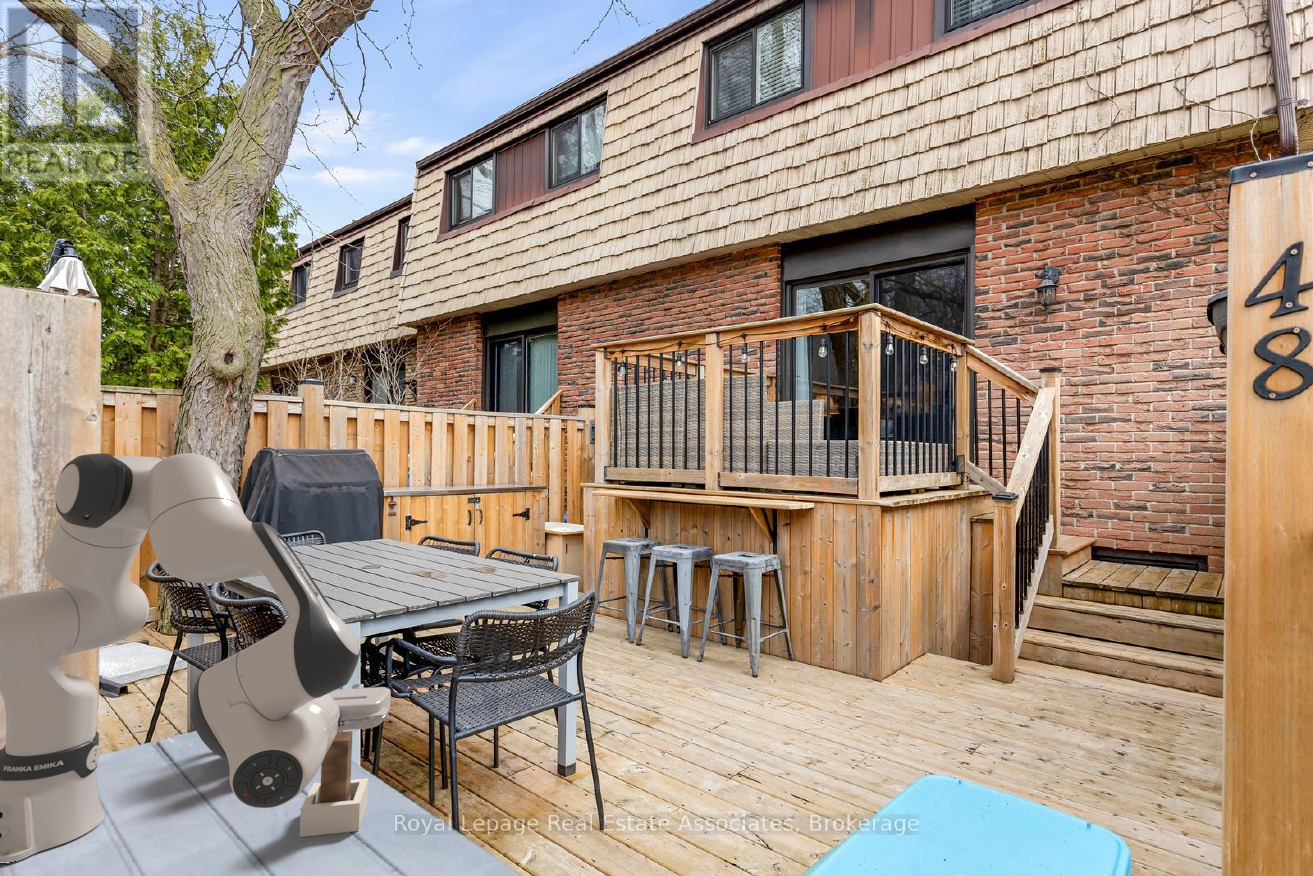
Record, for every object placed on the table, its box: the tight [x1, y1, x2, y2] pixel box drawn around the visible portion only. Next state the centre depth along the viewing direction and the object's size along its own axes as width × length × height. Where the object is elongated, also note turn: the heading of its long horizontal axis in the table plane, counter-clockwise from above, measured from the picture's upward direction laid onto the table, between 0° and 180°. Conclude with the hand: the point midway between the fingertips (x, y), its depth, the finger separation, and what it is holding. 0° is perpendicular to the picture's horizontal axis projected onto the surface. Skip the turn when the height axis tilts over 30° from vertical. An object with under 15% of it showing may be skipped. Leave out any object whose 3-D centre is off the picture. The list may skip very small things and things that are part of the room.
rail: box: [320, 730, 353, 803], centre depth 115 cm, size 4×4×14 cm
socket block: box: [299, 777, 369, 838], centre depth 115 cm, size 9×9×4 cm
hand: (325, 691), depth 104 cm, fingers open, 8 cm apart
